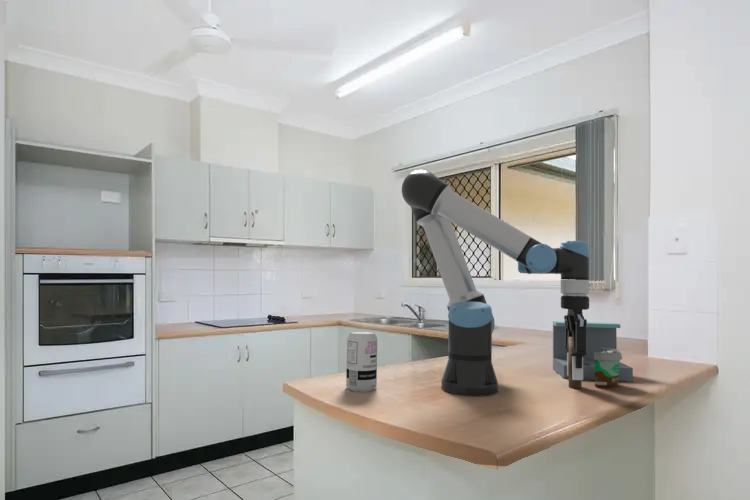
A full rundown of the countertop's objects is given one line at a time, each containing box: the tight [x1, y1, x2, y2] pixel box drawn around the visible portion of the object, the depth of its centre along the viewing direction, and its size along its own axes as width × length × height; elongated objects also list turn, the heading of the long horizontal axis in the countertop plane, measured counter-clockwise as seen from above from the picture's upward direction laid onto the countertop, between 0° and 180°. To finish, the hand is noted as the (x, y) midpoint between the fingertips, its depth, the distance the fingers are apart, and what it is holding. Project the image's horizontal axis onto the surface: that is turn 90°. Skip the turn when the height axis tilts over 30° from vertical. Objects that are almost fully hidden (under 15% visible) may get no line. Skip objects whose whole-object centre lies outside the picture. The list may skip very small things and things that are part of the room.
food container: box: [594, 348, 623, 389], centre depth 139 cm, size 12×6×10 cm, turn 143°
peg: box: [568, 337, 583, 390], centre depth 136 cm, size 3×3×14 cm
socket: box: [552, 320, 634, 382], centre depth 154 cm, size 20×14×16 cm
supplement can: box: [345, 330, 378, 393], centre depth 130 cm, size 8×8×15 cm
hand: (575, 377), depth 136 cm, fingers open, 4 cm apart
